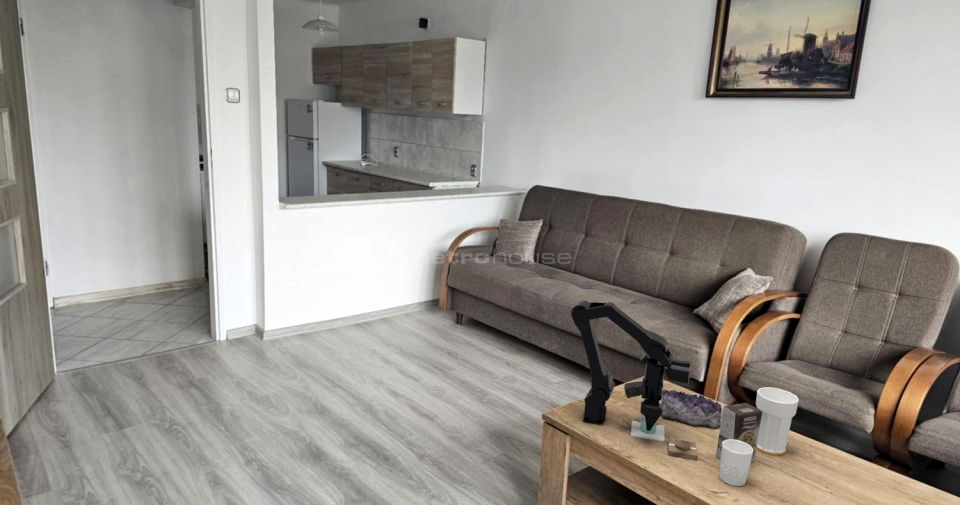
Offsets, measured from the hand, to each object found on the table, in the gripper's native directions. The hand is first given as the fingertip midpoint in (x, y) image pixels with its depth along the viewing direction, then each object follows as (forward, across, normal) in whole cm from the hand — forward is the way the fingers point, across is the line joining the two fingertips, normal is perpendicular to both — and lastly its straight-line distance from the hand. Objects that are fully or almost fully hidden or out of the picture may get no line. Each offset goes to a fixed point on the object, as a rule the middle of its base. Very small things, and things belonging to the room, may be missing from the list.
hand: (648, 423), depth 198 cm
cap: (+2, 0, 0) cm, 2 cm away
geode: (+3, -15, +13) cm, 20 cm away
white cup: (+3, +20, +23) cm, 31 cm away
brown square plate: (+3, +9, +10) cm, 14 cm away
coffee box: (+3, +8, +25) cm, 26 cm away
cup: (+3, -3, +36) cm, 36 cm away
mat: (+3, 0, 0) cm, 3 cm away
